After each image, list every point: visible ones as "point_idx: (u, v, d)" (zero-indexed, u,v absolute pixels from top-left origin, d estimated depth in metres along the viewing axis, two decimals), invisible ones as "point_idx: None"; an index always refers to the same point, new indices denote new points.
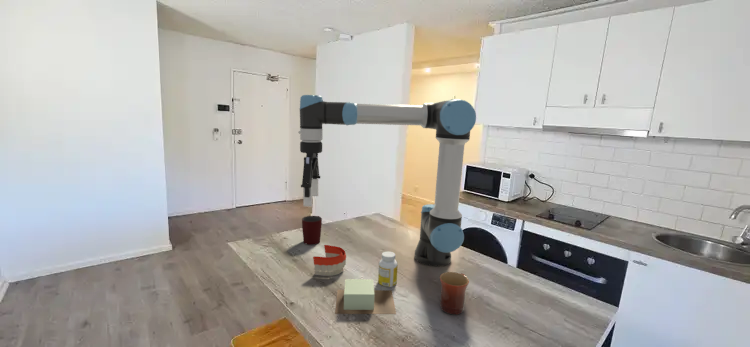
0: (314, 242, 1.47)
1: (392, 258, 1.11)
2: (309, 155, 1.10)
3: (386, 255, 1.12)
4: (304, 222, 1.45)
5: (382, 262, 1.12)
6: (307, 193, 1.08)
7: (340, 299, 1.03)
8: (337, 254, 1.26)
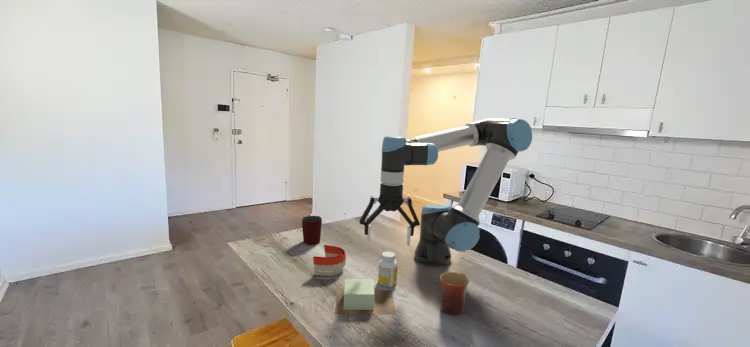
0: (314, 242, 1.47)
1: (392, 258, 1.11)
2: (379, 196, 1.09)
3: (386, 255, 1.12)
4: (304, 222, 1.45)
5: (382, 262, 1.12)
6: None
7: (340, 299, 1.03)
8: (337, 254, 1.26)
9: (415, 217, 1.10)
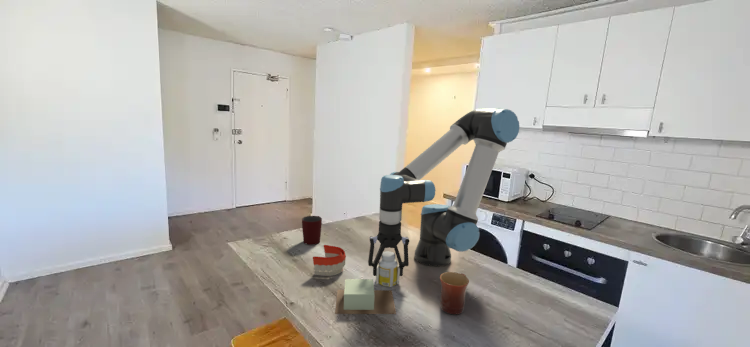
0: (314, 242, 1.47)
1: (392, 258, 1.11)
2: None
3: (386, 255, 1.12)
4: (304, 222, 1.45)
5: (382, 262, 1.12)
6: (373, 271, 1.13)
7: (340, 299, 1.03)
8: (337, 254, 1.26)
9: (406, 257, 1.12)
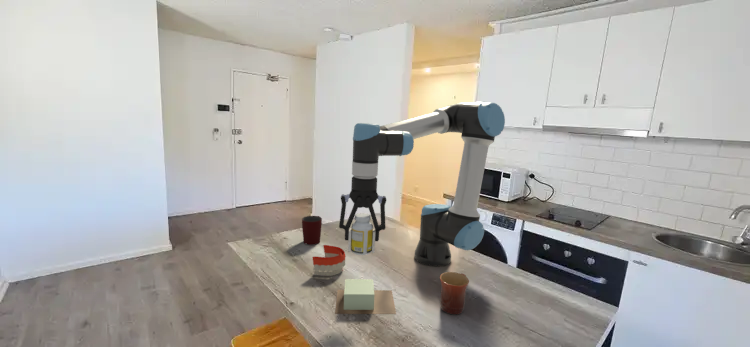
0: (314, 242, 1.47)
1: (366, 219, 0.96)
2: None
3: (360, 216, 0.97)
4: (304, 222, 1.45)
5: (355, 224, 0.97)
6: (345, 235, 0.99)
7: (340, 299, 1.03)
8: (336, 254, 1.26)
9: (383, 219, 0.98)
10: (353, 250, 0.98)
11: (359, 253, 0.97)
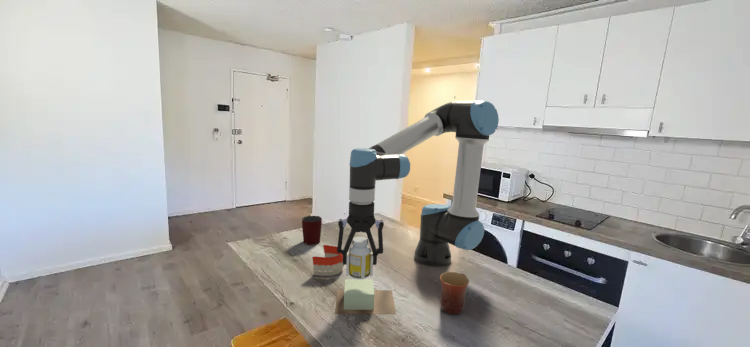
0: (314, 242, 1.47)
1: (364, 244, 0.97)
2: None
3: (358, 240, 0.98)
4: (304, 222, 1.45)
5: (353, 248, 0.98)
6: (343, 259, 0.99)
7: (340, 299, 1.03)
8: (336, 254, 1.26)
9: (381, 244, 0.98)
10: (351, 274, 0.98)
11: (357, 277, 0.97)
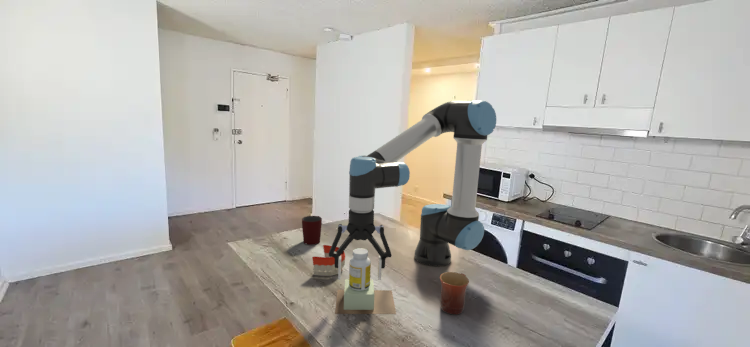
0: (314, 242, 1.47)
1: (364, 256, 0.98)
2: (348, 224, 0.97)
3: (358, 252, 0.98)
4: (304, 222, 1.45)
5: (353, 260, 0.98)
6: None
7: (340, 299, 1.03)
8: None
9: (387, 248, 0.98)
10: (351, 286, 0.99)
11: (357, 289, 0.98)
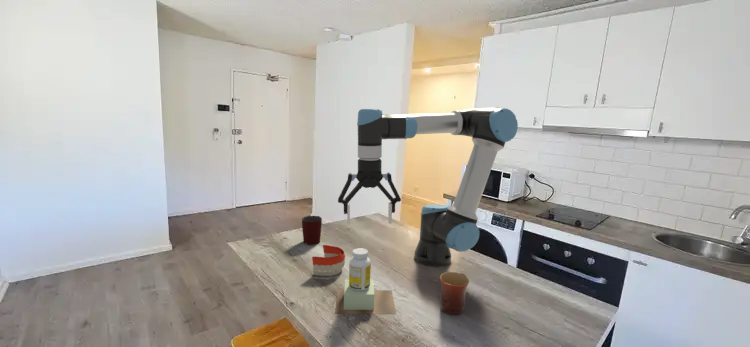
0: (314, 242, 1.47)
1: (364, 256, 0.98)
2: None
3: (358, 252, 0.98)
4: (304, 222, 1.45)
5: (353, 260, 0.98)
6: None
7: (340, 299, 1.03)
8: (336, 254, 1.26)
9: (396, 193, 1.05)
10: (351, 286, 0.99)
11: (357, 289, 0.98)
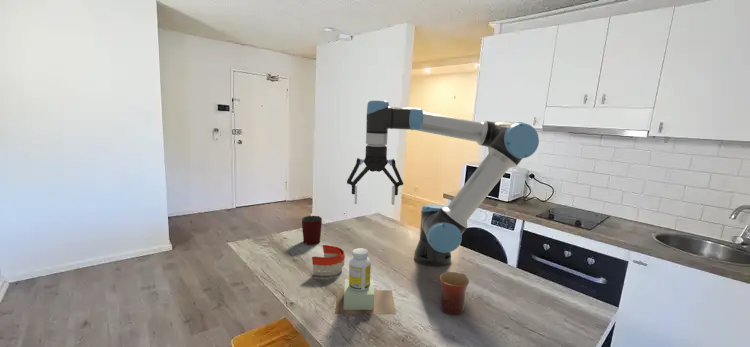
0: (314, 242, 1.47)
1: (364, 256, 0.98)
2: (365, 157, 1.16)
3: (358, 252, 0.98)
4: (304, 222, 1.45)
5: (353, 260, 0.98)
6: None
7: (340, 299, 1.03)
8: (336, 254, 1.26)
9: (399, 177, 1.17)
10: (351, 286, 0.99)
11: (357, 289, 0.98)
